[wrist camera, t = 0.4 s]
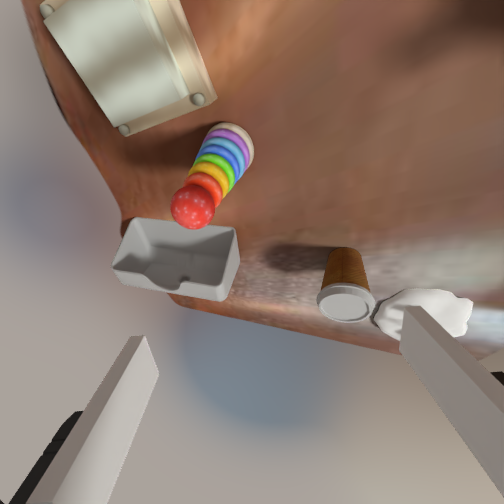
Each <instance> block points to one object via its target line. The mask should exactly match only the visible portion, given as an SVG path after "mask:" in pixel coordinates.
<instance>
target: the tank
mask: <svg viewBox="0 0 504 504" xmlns="http://www.w3.org/2000/svg"><path fill="white" fill-rule="evenodd" d="M239 264H240V256H239V250H238V243H237V236H236V231H235V229H234V228H233V227H225V226H215V225H206V226H205V227H203V228H201V229H196V230H192V229H187V228H184V227H182V226H181V225H179V224H178V223H177V222H176V221H168V220H159V219H149V218H140V217H135V218H134V219H132V220H131V222H130V224H129V226H128V228H127V230H126V233H125V235H124V237H123V239H122V241H121V244H120V246H119V248H118V250H117V252H116V254H115V257H114V259H113V261H112V263H111V269H112V270H113V271H114V273H115V275H116V276H117V277H118V279H119V280H120V282H121V283H122V284H123V285H129V286H135V287H140V288H146V289H151V290H157V291H163V292H168V293H174V294H180V295H185V296H191V297H197V298H202V299H208V300H214V301H223V300H225V299H226V298H227V296H228V293H229V290H230V288H231V285H232V282H233V280H234V277H235V274H236V272H237V269H238V267H239Z"/></svg>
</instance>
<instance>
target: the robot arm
mask: <svg viewBox="0 0 504 504" xmlns="http://www.w3.org/2000/svg"><path fill="white" fill-rule="evenodd" d="M399 351H400V352H401V354H402V355H403V356H404V358H405V359H406V360H407V362H408V363H409V365H410V366H411V367H412V369H413V370H414V372H415V373H416V375H417V376H418V377H419V379H420V380H421V382H422V383H423V384H424V386H425V387H426V389H427V390H428V392H429V393H430V394H431V396H432V397H433V398H434V400H435V401H436V403H437V404H438V406H439V407H440V408H441V410H442V411H443V413H444V414H445V415H446V417H447V418H448V420H449V421H450V422H451V424H452V425H453V427H454V428H455V430H456V431H457V432H458V433H459V435H460V436H461V438H462V439H463V441H464V442H465V444H466V445H467V446H468V448H469V449H470V451H471V452H472V453H473V455H474V456H475V458H476V459H477V460H478V462H479V463H480V465H481V466H482V467H483V469H484V470H485V472H486V473H487V475H488V476H489V477H490V479H491V480H492V482H493V483H494V484H495V486H496V487H497V489H498V490H499V491H500V493H501V494H502V496H503V497H504V373H503V372H489V371H488V370H487V369H486V368H485V367H484V366H482V365H481V364H480V363H479V362H478V361H477V360H476V359H475V358H474V357H473V356H472V355H471V354H470V353H469V352H468V351H467V350H466V349H465V348H464V347H463V346H462V345H461V344H460V343H459V342H458V341H457V340H456V339H454V338H453V337H452V336H451V335H450V334H449V333H448V332H447V331H446V330H445V329H444V328H443V327H442V326H441V325H440V324H439V323H438V322H437V321H436V320H435V319H434V318H433V317H432V316H431V315H430V314H429V313H428V312H426V311H425V310H424V309H423V308H422V307H421V306H412V307H404V314H403V322H402V331H401V339H400V347H399ZM158 376H159V372H158V369H157V366H156V364H155V361H154V359H153V356H152V353H151V350H150V348H149V345H148V342H147V340H146V337H145V335H142V336H133V337H130V338H129V340H128V341H127V343H126V345H125V346H124V348H123V349H122V351H121V353H120V354H119V356H118V357H117V359H116V360H115V362H114V364H113V365H112V367H111V368H110V370H109V372H108V373H107V375H106V376H105V378H104V380H103V381H102V383H101V384H100V386H99V387H98V389H97V391H96V392H95V394H94V395H93V397H92V399H91V400H90V402H89V403H88V405H87V407H86V408H85V410H84V411H77V412H75V413H73V414H72V415H71V416H70V417H69V418H68V419H67V420H66V421H65V422H64V423H63V424H62V426H61V427H60V428H59V430H58V432H57V433H56V434H55V436H54V437H53V439H52V442H51V443H49V445H48V446H47V448H46V449H45V451H44V452H43V455H42V456H41V457H40V458H39V460H38V461H37V462H36V464H35V465H34V467H33V468H32V470H31V471H30V473H29V474H28V476H27V477H26V479H25V480H24V482H23V483H22V485H21V486H20V488H19V489H18V491H17V492H16V493H15V495H14V496H13V498H12V500H11V501H10V503H9V504H107V502H108V500H109V498H110V495H111V493H112V490H113V488H114V485H115V483H116V480H117V478H118V475H119V473H120V470H121V468H122V465H123V463H124V460H125V458H126V456H127V453H128V451H129V448H130V446H131V443H132V440H133V438H134V436H135V433H136V431H137V428H138V425H139V423H140V420H141V418H142V416H143V413H144V411H145V408H146V406H147V403H148V401H149V398H150V396H151V393H152V391H153V388H154V386H155V383H156V381H157V378H158ZM0 504H4V503H3V502H2V501H1V500H0Z"/></svg>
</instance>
